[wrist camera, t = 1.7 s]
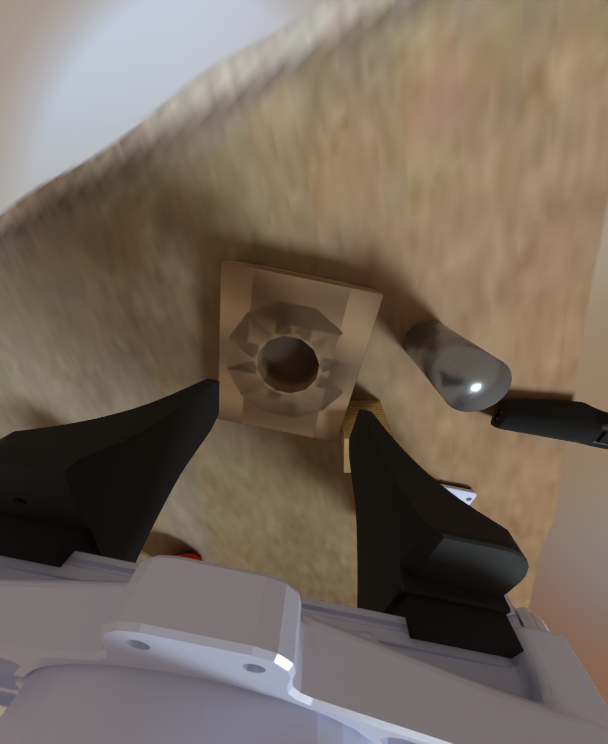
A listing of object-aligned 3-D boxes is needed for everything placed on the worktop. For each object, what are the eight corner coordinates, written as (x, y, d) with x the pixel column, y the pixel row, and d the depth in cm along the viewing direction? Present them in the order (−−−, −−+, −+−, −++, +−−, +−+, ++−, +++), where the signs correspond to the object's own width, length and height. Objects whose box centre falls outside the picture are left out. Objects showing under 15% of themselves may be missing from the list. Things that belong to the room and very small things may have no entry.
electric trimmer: (490, 382, 20) (516, 403, 17) (685, 411, 20) (744, 438, 17) (471, 418, 22) (491, 443, 19) (649, 445, 21) (698, 475, 18)
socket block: (335, 420, 23) (336, 442, 20) (230, 398, 23) (217, 418, 20) (374, 288, 17) (383, 294, 14) (237, 259, 17) (221, 261, 14)
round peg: (437, 363, 19) (490, 417, 13) (398, 355, 19) (432, 405, 13) (456, 325, 18) (525, 364, 12) (414, 316, 18) (460, 351, 12)
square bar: (377, 430, 23) (389, 473, 18) (340, 430, 23) (343, 472, 19) (379, 400, 21) (393, 439, 17) (341, 400, 22) (344, 438, 17)
